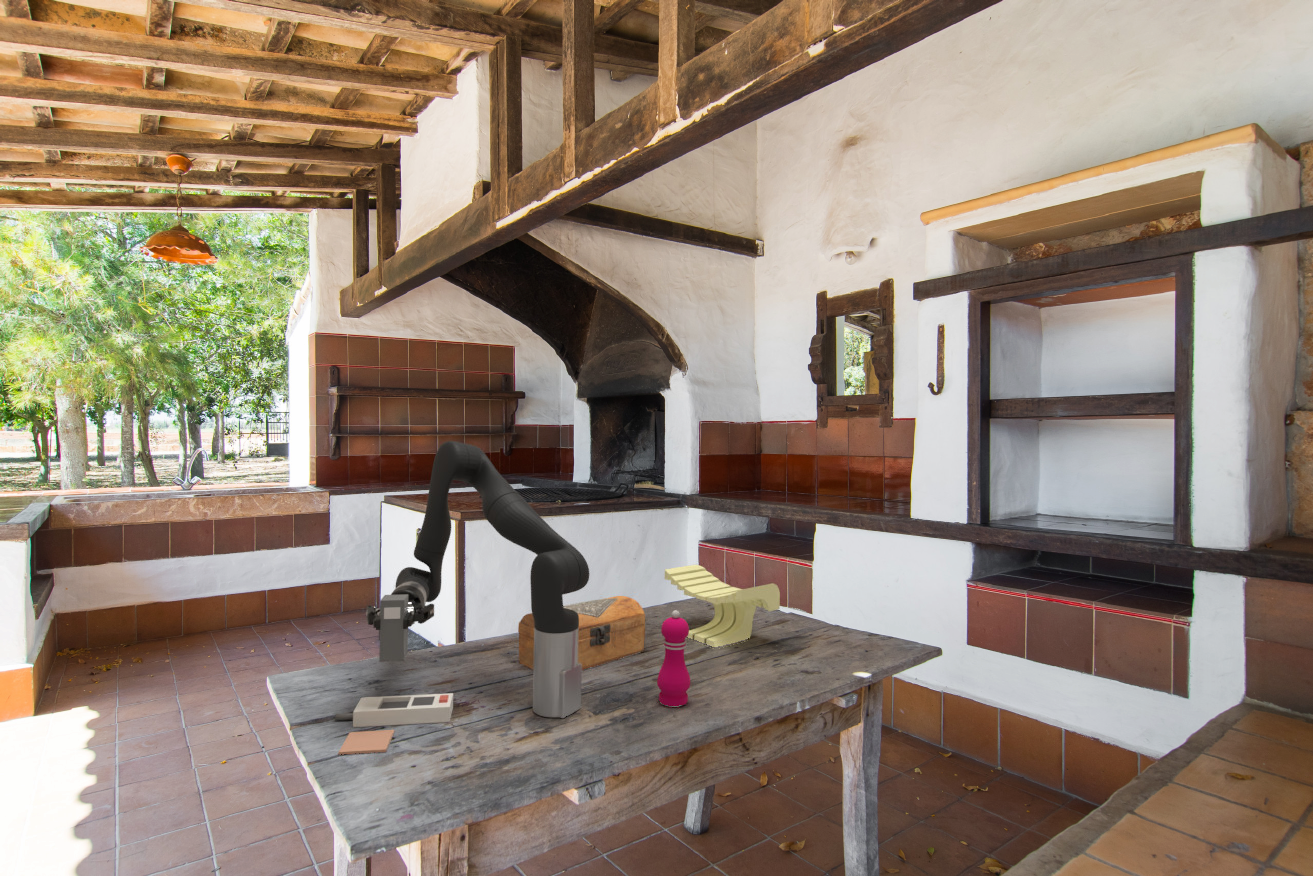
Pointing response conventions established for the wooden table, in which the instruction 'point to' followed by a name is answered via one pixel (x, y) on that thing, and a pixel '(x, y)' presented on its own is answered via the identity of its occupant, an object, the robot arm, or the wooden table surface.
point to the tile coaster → (367, 742)
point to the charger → (393, 628)
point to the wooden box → (596, 631)
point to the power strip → (401, 710)
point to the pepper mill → (674, 662)
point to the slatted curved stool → (723, 604)
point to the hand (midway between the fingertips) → (391, 624)
